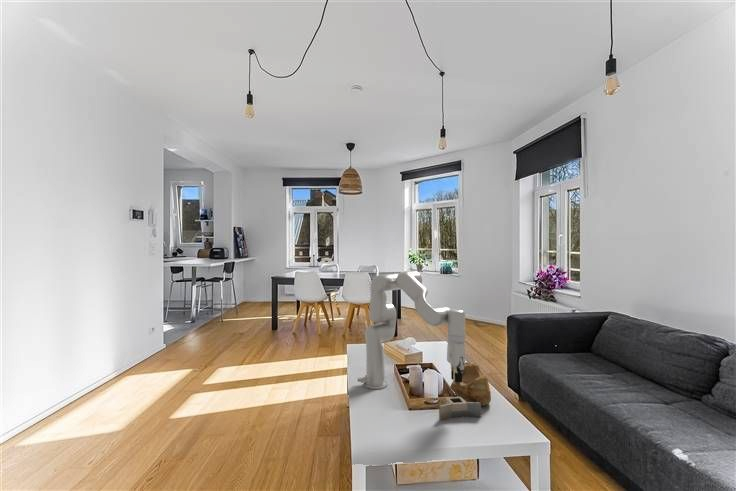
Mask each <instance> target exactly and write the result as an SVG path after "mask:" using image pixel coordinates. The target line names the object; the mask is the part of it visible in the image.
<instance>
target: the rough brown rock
mask: <svg viewBox="0 0 736 491" xmlns="http://www.w3.org/2000/svg"><path fill="white" fill-rule="evenodd" d="M449 388H450V390H451V389H452V390H453V391H454V392H455V394H456V395H457V396H458V397H461V398H462V399H464V400H465V401H466V402H480V403H481V407H482V406H487V405H489V404H490V403H491V402H492V401H491V400H492V395H491V394H492V393H491V388H490V384H489V380H488V378H487V376H486V375H485V374H484V373H483V372H482V370H481V367H480V366H479V365H478V364H477V363H471V362H469V361H465V366H464V370H463V373H462V382H460V385H454V384H453V381H452V383H451V384H450V386H449ZM452 390H451V391H452ZM453 391H452V392H453ZM457 396H456V397H457Z"/></svg>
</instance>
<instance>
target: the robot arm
mask: <svg viewBox="0 0 736 491" xmlns="http://www.w3.org/2000/svg"><path fill="white" fill-rule="evenodd" d="M397 290H401V291H402V292H403V293H404V294H405V295H407V296H408V297H409V298H410V299H411V301H413V303H414V308H415V311H416V313H417V315H418V316H419V317H420V318H421V320H423V321H424V322H425V323H427V325H429V326H431V327H438V326H441V325H447V345H446V361H447V362H448V363H449V365H450V369H451V371H450V372H451V373H450V374H451V377H450V378H451V379H450V380H453V366H454V367H455V372H456V373H455V382H462V373H463V370H464V366H465V363H466V347H465V343H466V312H465V311H464V310H462V309H455V308H451V307H448V306H441V307H436V308H434V307H432V306H431V305H430V304H429V303H428V302H427V301H426V297H427V295H428V289H427V288H426V287H425V286H424V285H423V277H422V276H421V273H419V272H418V271H415V270H414V271H413V270H411V271H410V270H409V271H402V272H398V273H384V274H378V275H376V276H374V278H372V279H371V282H370V300H369V301H370V302H369V309H368V311H369V312H368V319H369V320H370V321H371V322H372V323H373V324H372V325H369V326H368V327H366V329H365V330H364V339H365V348H366V355H365V356H366V374H365V375H364V376H363V377H357V383H359V382H360V383H362V384H363V387H365V388H366V389H369V390H370V389H371V390H380V389H385V388H387V387H388V382H387V380H386V379H385V376H386V375H385V374H386V372H385V365H386V364H385V359H386V358H385V353H386V352H385V348H384V346H383V344H382V343H383V342H387V341H391V340H392V339H394V336H395V333H396V325H397V324H396V323H397V309H396V307H395V306H394V304H393V303H390V302H387V301H388V300H387V299H388V298H387V297H388V295H387V294H386V292H389V291H397ZM459 364H460V365H459ZM458 367H460V368H458Z"/></svg>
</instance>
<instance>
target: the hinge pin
mask: <svg viewBox="0 0 736 491" xmlns="http://www.w3.org/2000/svg"><path fill="white" fill-rule="evenodd" d="M459 365H460V364H459ZM458 368H460V367H458ZM455 373H456V372H455V367H454V366H453V379H452V382H453V384H454V385H460V382H455Z"/></svg>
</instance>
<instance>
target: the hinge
mask: <svg viewBox="0 0 736 491" xmlns="http://www.w3.org/2000/svg"><path fill="white" fill-rule="evenodd" d="M481 417H482V406H481V403H480V402H467V401H465V400H464V399H462V398H461V397H457V396H454V397H452V396H451V397H445V403H443V404H440V405H438V420H439V421H446V420H450V419H460V418H481Z"/></svg>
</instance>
